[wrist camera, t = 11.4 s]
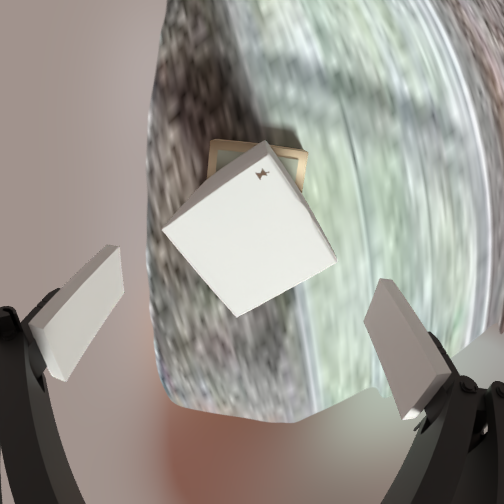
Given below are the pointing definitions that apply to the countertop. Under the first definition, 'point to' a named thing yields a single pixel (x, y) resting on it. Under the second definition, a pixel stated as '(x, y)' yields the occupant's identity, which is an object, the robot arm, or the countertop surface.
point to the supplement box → (250, 231)
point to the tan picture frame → (230, 150)
